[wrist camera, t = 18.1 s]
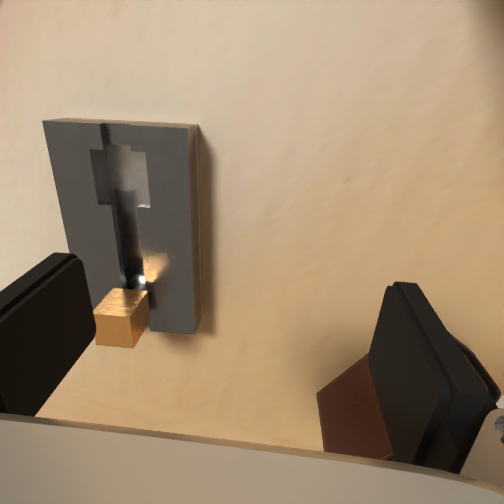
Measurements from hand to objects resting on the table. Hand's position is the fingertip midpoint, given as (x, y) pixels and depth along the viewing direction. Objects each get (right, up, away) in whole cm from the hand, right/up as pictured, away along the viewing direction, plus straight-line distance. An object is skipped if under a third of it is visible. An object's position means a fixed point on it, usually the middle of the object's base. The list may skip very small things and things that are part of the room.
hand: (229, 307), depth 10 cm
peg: (-13, -2, +33) cm, 35 cm away
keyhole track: (-12, +5, +30) cm, 33 cm away
